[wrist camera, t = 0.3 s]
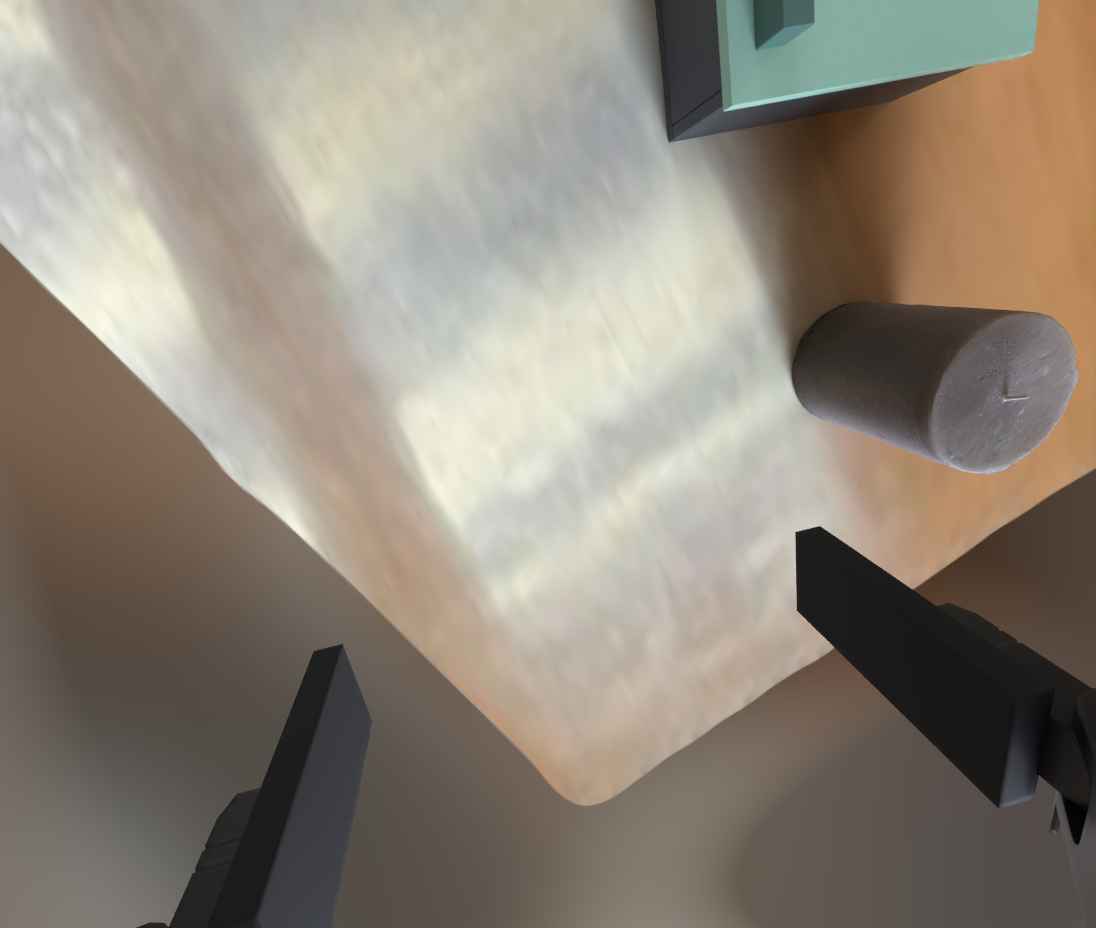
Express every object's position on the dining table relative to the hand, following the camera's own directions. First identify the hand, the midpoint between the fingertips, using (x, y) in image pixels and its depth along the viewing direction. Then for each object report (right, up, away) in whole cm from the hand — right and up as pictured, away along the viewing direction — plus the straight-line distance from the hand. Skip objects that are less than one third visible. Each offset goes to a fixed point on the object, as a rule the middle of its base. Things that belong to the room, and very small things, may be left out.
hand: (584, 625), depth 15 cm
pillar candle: (+23, +13, +29) cm, 39 cm away
